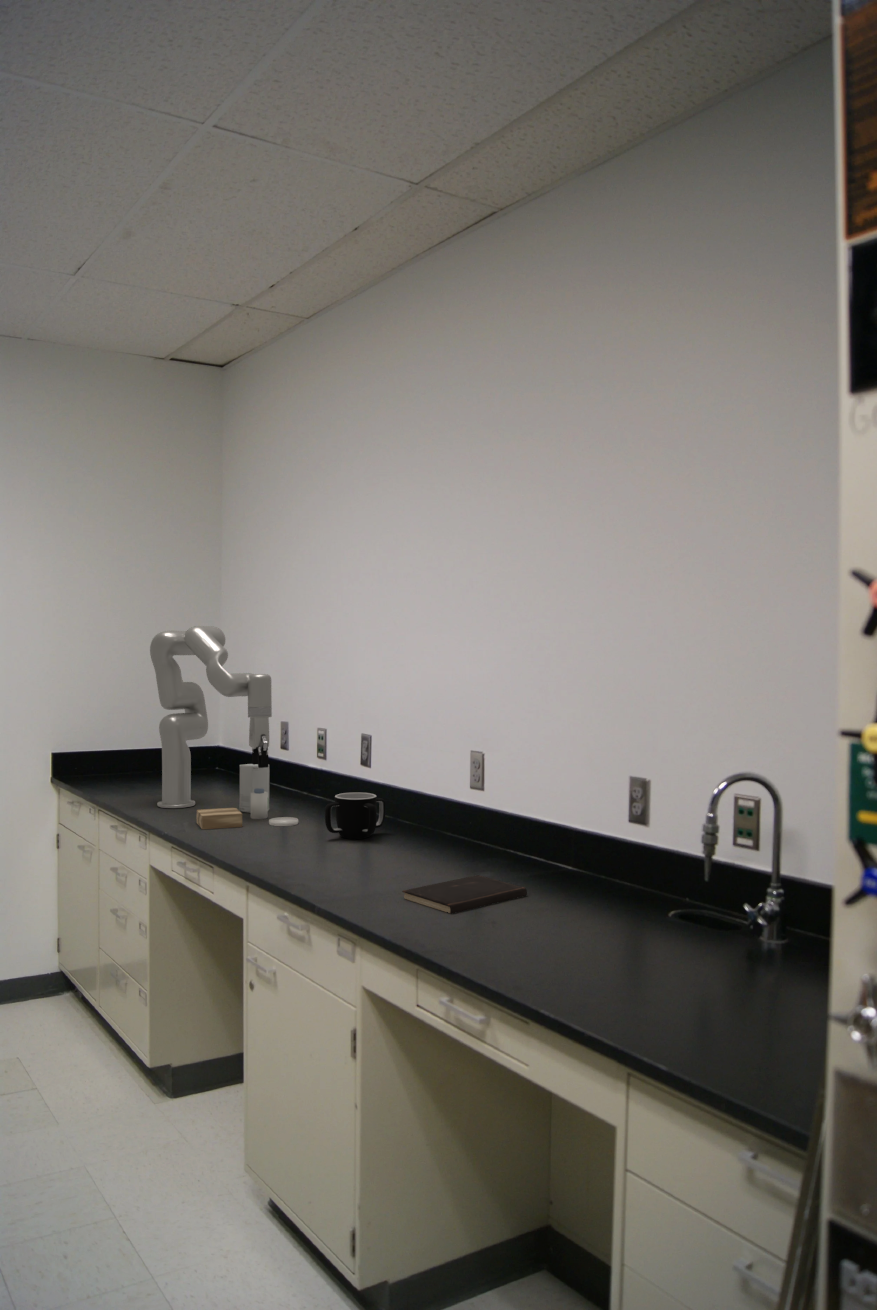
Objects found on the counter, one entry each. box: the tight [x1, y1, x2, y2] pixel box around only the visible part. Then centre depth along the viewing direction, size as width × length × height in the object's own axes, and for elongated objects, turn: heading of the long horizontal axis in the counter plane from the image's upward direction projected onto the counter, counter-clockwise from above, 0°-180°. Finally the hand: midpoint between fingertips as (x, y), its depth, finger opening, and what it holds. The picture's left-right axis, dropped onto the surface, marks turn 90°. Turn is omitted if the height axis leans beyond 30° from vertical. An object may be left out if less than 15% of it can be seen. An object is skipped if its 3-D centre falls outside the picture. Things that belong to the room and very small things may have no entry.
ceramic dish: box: [268, 816, 299, 827], centre depth 302 cm, size 9×9×1 cm
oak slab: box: [196, 807, 243, 830], centre depth 299 cm, size 12×12×4 cm
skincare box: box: [238, 763, 270, 814], centre depth 324 cm, size 8×7×16 cm
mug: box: [324, 792, 386, 840], centre depth 282 cm, size 16×16×12 cm
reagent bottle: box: [250, 788, 269, 820], centre depth 312 cm, size 5×5×9 cm
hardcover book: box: [401, 874, 528, 915], centre depth 216 cm, size 16×23×2 cm
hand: (260, 765), depth 312 cm, fingers open, 9 cm apart
